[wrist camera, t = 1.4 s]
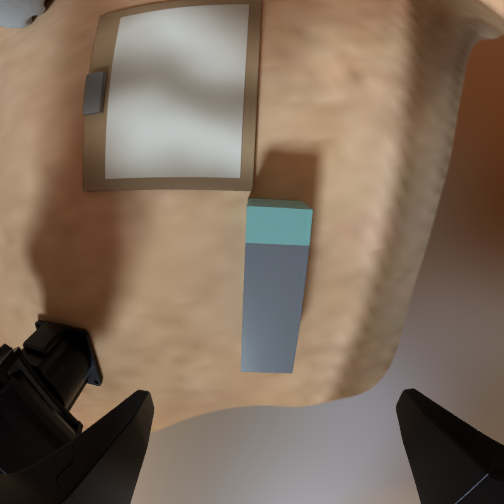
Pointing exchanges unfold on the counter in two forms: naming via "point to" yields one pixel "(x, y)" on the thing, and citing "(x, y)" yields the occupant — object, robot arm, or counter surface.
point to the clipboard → (173, 97)
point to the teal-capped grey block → (274, 283)
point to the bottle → (19, 12)
